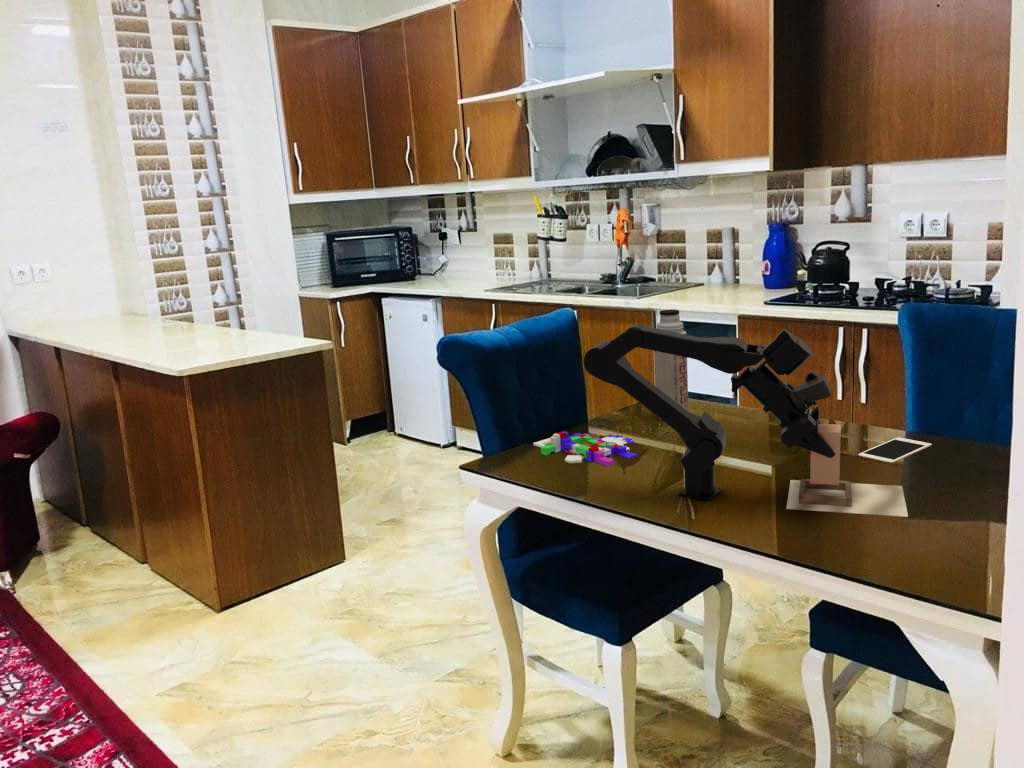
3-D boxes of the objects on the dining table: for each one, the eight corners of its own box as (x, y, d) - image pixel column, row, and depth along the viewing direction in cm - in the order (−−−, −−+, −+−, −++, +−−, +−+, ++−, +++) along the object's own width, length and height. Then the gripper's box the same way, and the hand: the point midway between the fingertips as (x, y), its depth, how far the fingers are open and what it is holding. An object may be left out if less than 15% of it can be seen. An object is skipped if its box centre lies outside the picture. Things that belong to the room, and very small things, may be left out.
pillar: (810, 483, 154) (810, 431, 151) (810, 474, 158) (811, 423, 156) (839, 485, 152) (840, 432, 149) (839, 475, 156) (840, 424, 154)
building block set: (659, 451, 192) (659, 432, 191) (592, 474, 181) (591, 454, 180) (588, 430, 212) (587, 413, 211) (523, 450, 201) (522, 432, 200)
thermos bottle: (694, 417, 214) (692, 309, 208) (668, 423, 211) (665, 314, 205) (676, 411, 222) (673, 306, 215) (651, 416, 219) (647, 310, 212)
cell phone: (932, 446, 182) (932, 443, 181) (891, 464, 172) (892, 461, 172) (898, 439, 188) (898, 436, 188) (857, 457, 179) (857, 454, 179)
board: (786, 513, 151) (786, 500, 151) (790, 484, 165) (790, 472, 164) (908, 522, 144) (908, 508, 144) (901, 490, 158) (902, 478, 157)
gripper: (802, 374, 143) (870, 438, 141) (805, 351, 160) (866, 409, 158) (754, 416, 147) (819, 479, 146) (762, 390, 164) (821, 446, 163)
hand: (833, 451), depth 153 cm, fingers closed on pillar, 5 cm apart
